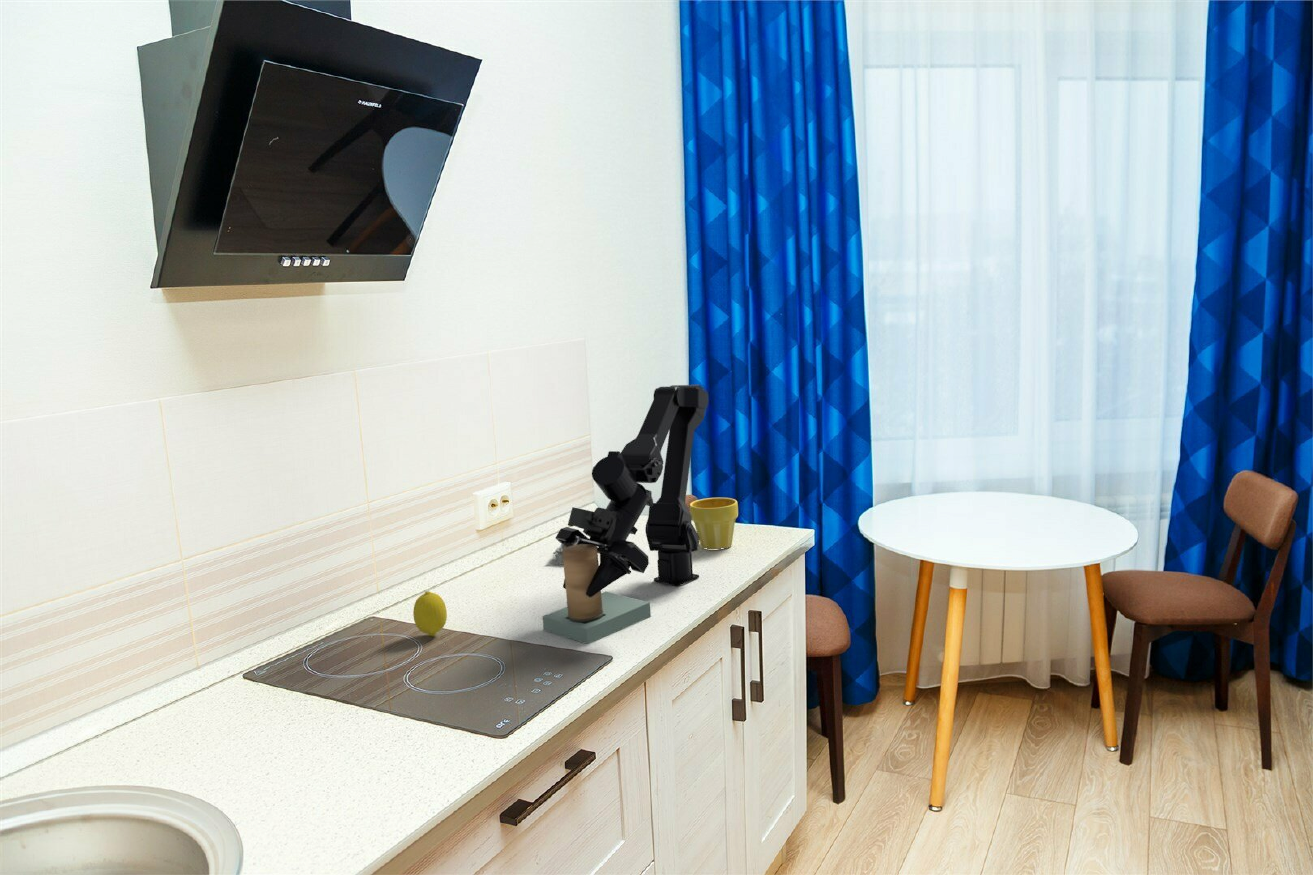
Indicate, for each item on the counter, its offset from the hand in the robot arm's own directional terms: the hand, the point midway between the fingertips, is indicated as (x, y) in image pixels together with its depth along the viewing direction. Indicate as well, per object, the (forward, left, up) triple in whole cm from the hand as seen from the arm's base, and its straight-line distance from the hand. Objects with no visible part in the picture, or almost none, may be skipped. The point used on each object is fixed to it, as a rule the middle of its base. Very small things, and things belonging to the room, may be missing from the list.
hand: (576, 592), depth 157 cm
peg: (-2, 0, -7) cm, 7 cm away
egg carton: (-31, -34, -8) cm, 46 cm away
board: (-5, -1, -7) cm, 9 cm away
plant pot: (-52, -13, -7) cm, 54 cm away
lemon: (+15, -21, -7) cm, 27 cm away
